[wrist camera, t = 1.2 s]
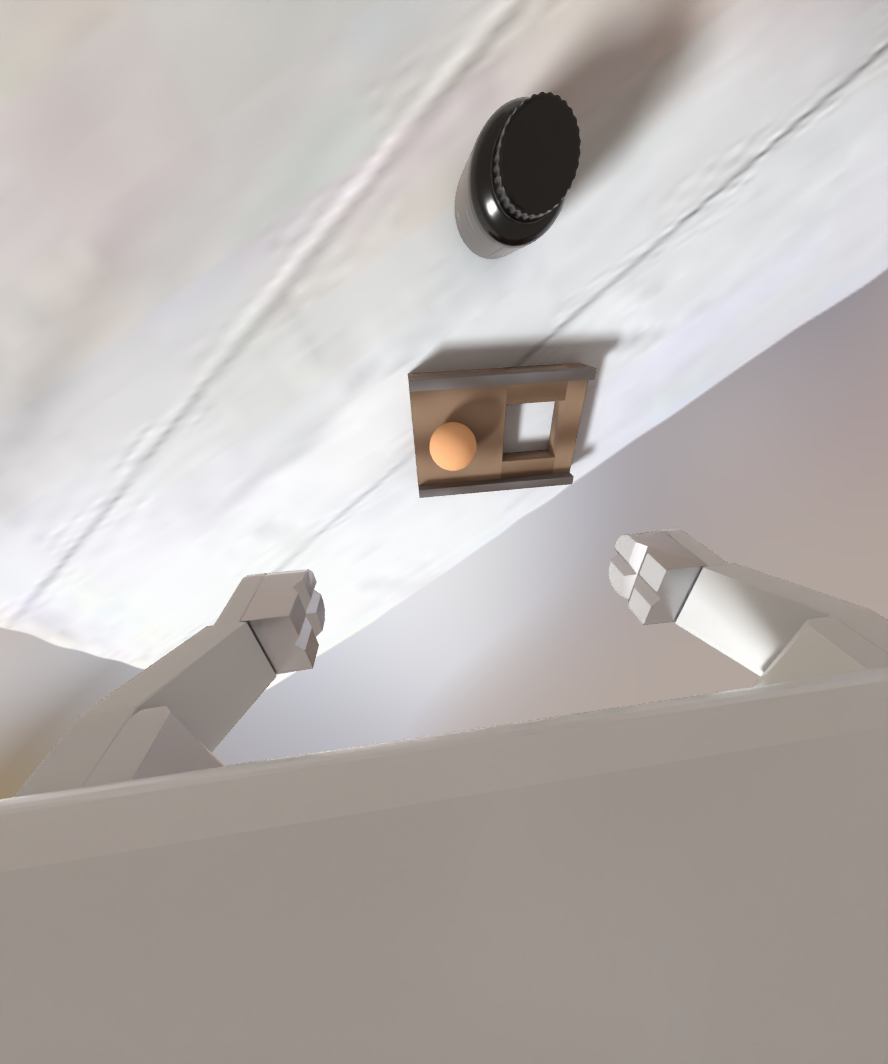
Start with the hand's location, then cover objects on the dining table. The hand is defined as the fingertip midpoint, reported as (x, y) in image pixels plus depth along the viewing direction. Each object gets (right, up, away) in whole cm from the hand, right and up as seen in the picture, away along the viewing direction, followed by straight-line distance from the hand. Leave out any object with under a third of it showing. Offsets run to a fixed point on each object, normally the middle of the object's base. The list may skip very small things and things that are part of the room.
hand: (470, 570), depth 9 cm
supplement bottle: (+3, +29, +19) cm, 35 cm away
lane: (+5, +14, +30) cm, 34 cm away
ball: (0, +10, +26) cm, 28 cm away
